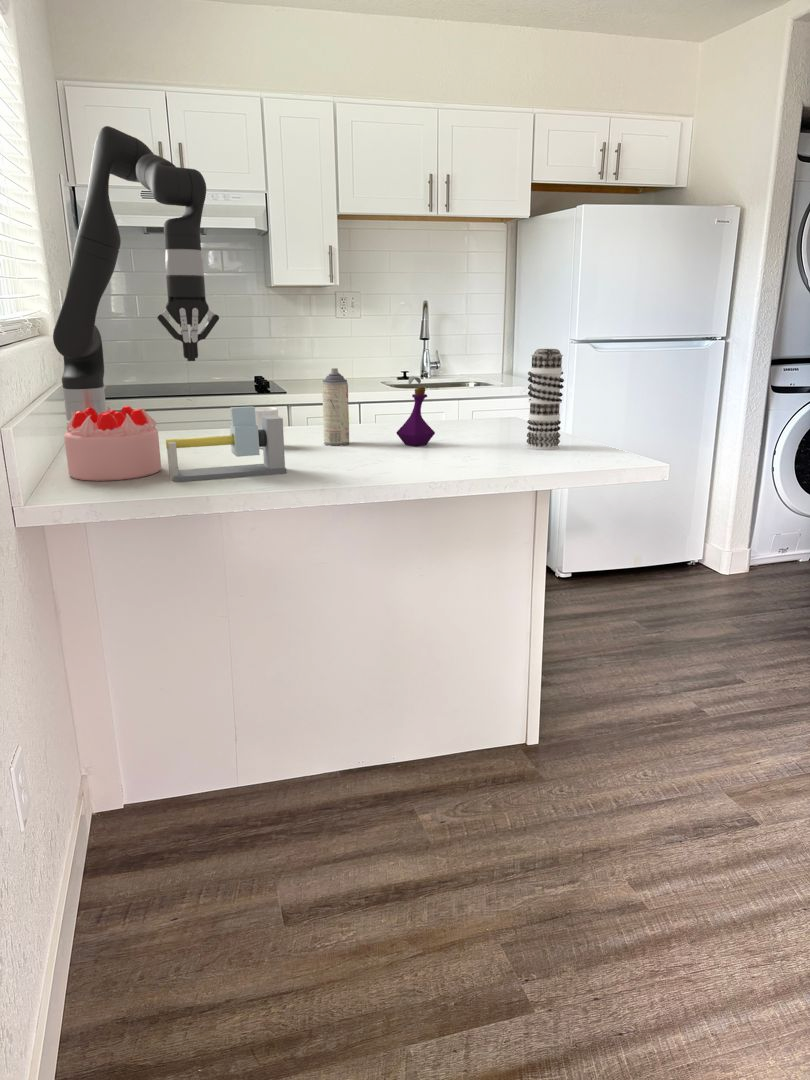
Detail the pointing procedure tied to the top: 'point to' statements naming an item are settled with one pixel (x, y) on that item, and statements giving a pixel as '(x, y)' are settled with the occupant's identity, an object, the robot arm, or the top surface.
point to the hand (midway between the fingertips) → (191, 360)
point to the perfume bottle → (416, 421)
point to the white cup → (264, 412)
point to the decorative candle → (545, 399)
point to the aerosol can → (335, 409)
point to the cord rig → (268, 439)
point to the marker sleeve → (244, 431)
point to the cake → (112, 445)
